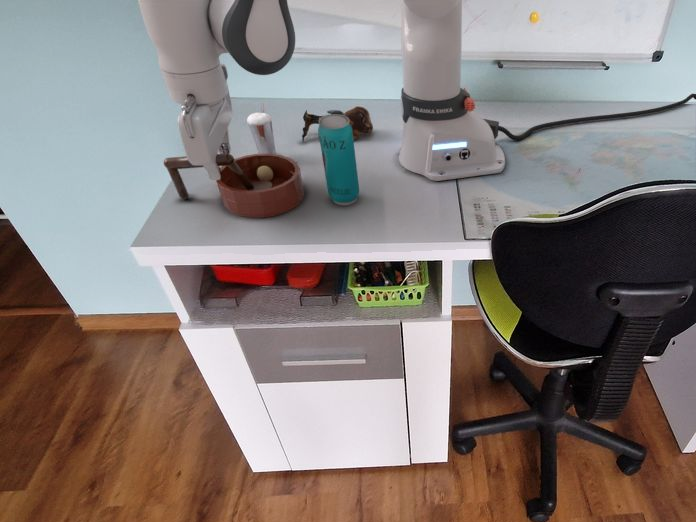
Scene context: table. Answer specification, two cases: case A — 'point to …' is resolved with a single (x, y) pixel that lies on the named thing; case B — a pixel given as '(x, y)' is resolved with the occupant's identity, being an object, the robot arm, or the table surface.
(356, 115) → the figurine
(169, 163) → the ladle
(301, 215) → the table surface
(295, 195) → the bowl
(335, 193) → the beverage can
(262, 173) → the ball
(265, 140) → the milkshake
